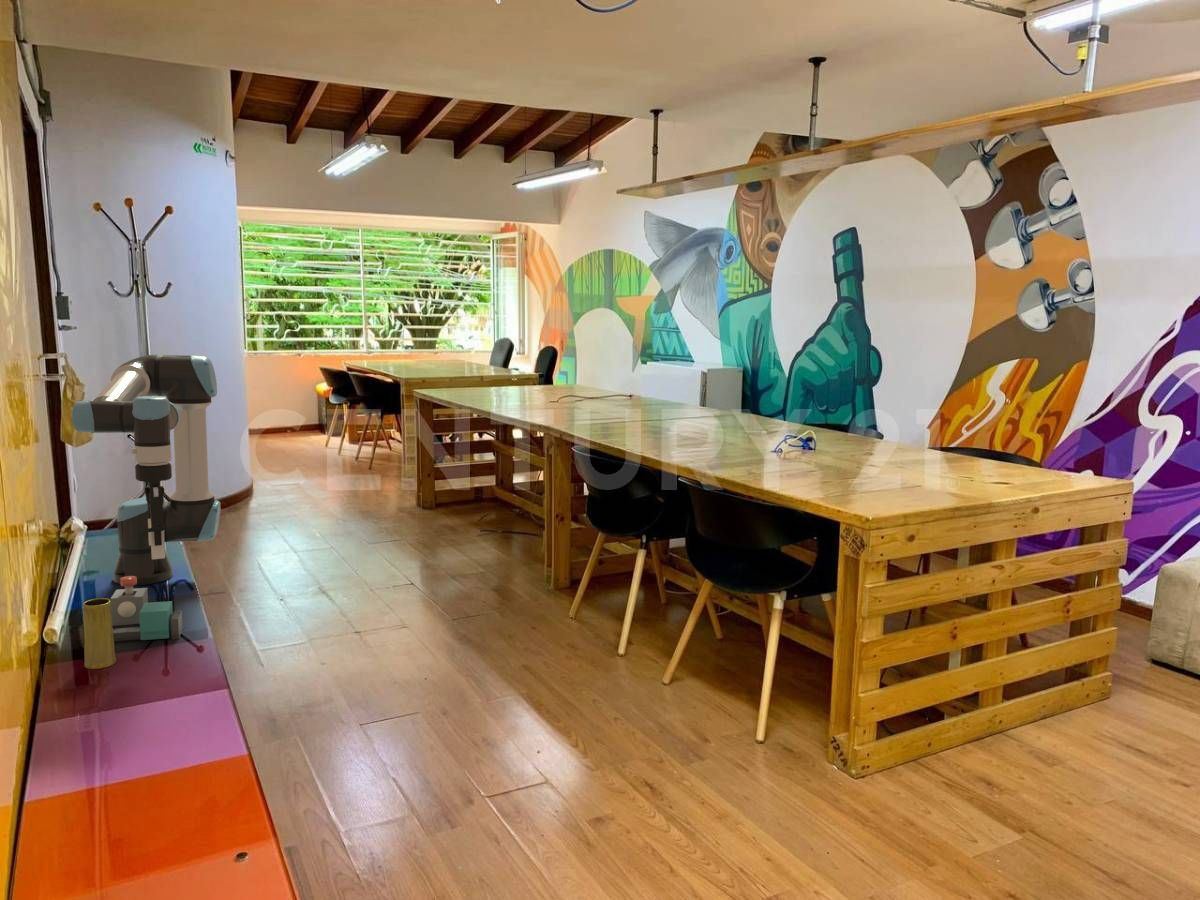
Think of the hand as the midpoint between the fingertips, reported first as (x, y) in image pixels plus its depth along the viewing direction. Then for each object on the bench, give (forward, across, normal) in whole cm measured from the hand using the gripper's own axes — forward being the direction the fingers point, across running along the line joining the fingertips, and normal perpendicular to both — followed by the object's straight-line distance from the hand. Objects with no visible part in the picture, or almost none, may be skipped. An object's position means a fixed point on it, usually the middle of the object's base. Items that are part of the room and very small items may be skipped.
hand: (156, 551), depth 200 cm
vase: (+22, +12, -12) cm, 28 cm away
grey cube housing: (+21, -15, -6) cm, 26 cm away
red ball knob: (+15, -15, -6) cm, 22 cm away
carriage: (+21, -1, -1) cm, 21 cm away
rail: (+21, -2, -5) cm, 22 cm away
